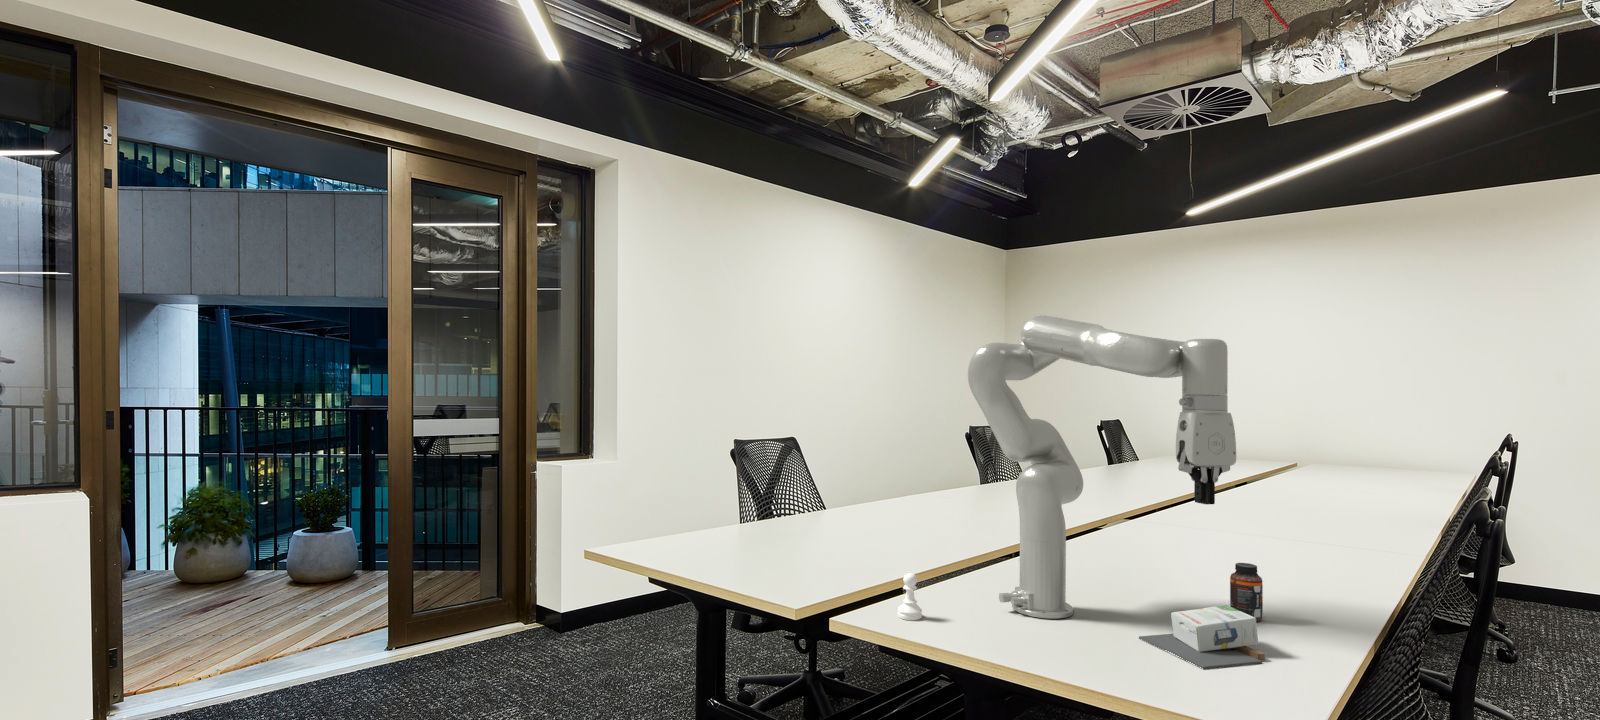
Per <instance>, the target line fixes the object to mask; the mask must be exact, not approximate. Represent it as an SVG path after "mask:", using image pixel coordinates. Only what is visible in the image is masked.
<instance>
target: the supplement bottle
mask: <svg viewBox="0 0 1600 720" xmlns="http://www.w3.org/2000/svg"><path fill="white" fill-rule="evenodd" d="M1234 566H1235V567H1234V569H1235V572H1232V573H1231V574H1230V578H1229V597H1230V599H1229V602H1230V603H1229V606H1230V607H1232V608H1234V609H1237V610H1239V611H1241V612H1243V613H1246V614H1248V615H1250V616H1253V617H1255V618H1256V623H1257V622H1260V621H1262V620H1263V615H1264V614H1263V613H1264V612H1263V611H1264V610H1263V606H1264V604H1263V599H1264V597H1263V594H1264V592H1263V589H1264V588H1263V587H1264V586H1263V578H1262V577H1261V576H1260V575H1259V574H1258V565H1256V564H1253V563H1247V562H1236V563H1235V565H1234Z"/></svg>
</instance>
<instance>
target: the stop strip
mask: <svg viewBox="0 0 1600 720" xmlns="http://www.w3.org/2000/svg"><path fill="white" fill-rule="evenodd" d="M1232 649H1235V650H1237V651H1239V652H1242V653H1244V654H1246V655H1249V656H1251V657H1253V658H1256V659H1258V660H1261V661H1262V662H1264V661H1265V659H1266V655H1265V654H1266V653H1264V652H1262V651H1260V650H1257V649H1254V648H1252V647H1249V646H1242V647H1234V648H1232Z"/></svg>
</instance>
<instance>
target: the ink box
mask: <svg viewBox="0 0 1600 720" xmlns="http://www.w3.org/2000/svg"><path fill="white" fill-rule="evenodd" d="M1170 617H1171V625H1172V628H1171V629H1172V634H1173V636H1174V637H1176V638H1177V639H1179V640H1181V641H1182V642H1184V643H1185V644H1187V645H1189V646H1190V647H1192V648H1193V649H1195V650H1197V651H1198V652H1203V651H1211V650H1219V649H1227V648H1234V647H1242V646H1247V647H1249V646H1254V645H1259V638H1258V637H1259V636H1258V625H1257V622H1256V618H1255V617H1253V616H1250V615H1248V614H1246V613H1243V612H1241V611H1239V610H1237V609H1234V608H1232V607H1230V605H1228V604H1225V605H1224V604H1223V605H1217V606H1209V607H1203V608H1195V609H1187V610H1181V611H1179V610H1178V611H1173V612H1171V613H1170Z"/></svg>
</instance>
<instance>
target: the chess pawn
mask: <svg viewBox="0 0 1600 720" xmlns="http://www.w3.org/2000/svg"><path fill="white" fill-rule="evenodd" d="M917 578H918V577H917V576H916V574H914V573H911V572H909V573H906V574H905V575H904V576H903V578H902V579H903V584H904V586H903V587H902V588H903V590H906V592H905V598H904V599H903V600H902V602H903V603H902V604H900V605H899V606H898V608H897V618H899V619H901V620H905V621H918V620H921V619H922V618H923V613H922V611H923V609H922V608H921V607H920V606H919V604H918V600H917V599H915V592H914V591H917V589H918V587H917V586H916V585H917V582H918V579H917Z"/></svg>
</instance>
